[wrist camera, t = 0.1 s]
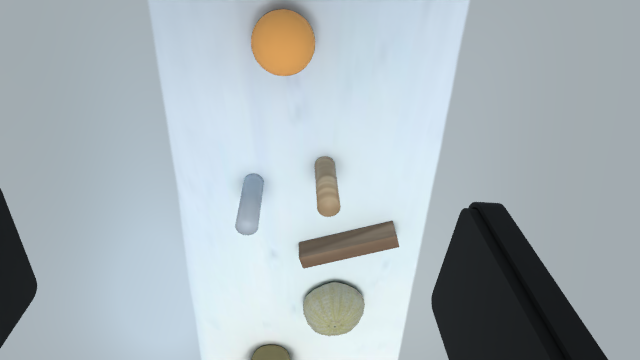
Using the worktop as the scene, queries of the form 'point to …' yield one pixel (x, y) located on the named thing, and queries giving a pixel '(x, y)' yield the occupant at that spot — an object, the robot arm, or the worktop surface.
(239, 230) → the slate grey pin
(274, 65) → the ball
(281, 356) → the squeeze bottle
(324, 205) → the maple pin
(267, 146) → the worktop surface
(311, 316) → the sea urchin shell
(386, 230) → the back wall
